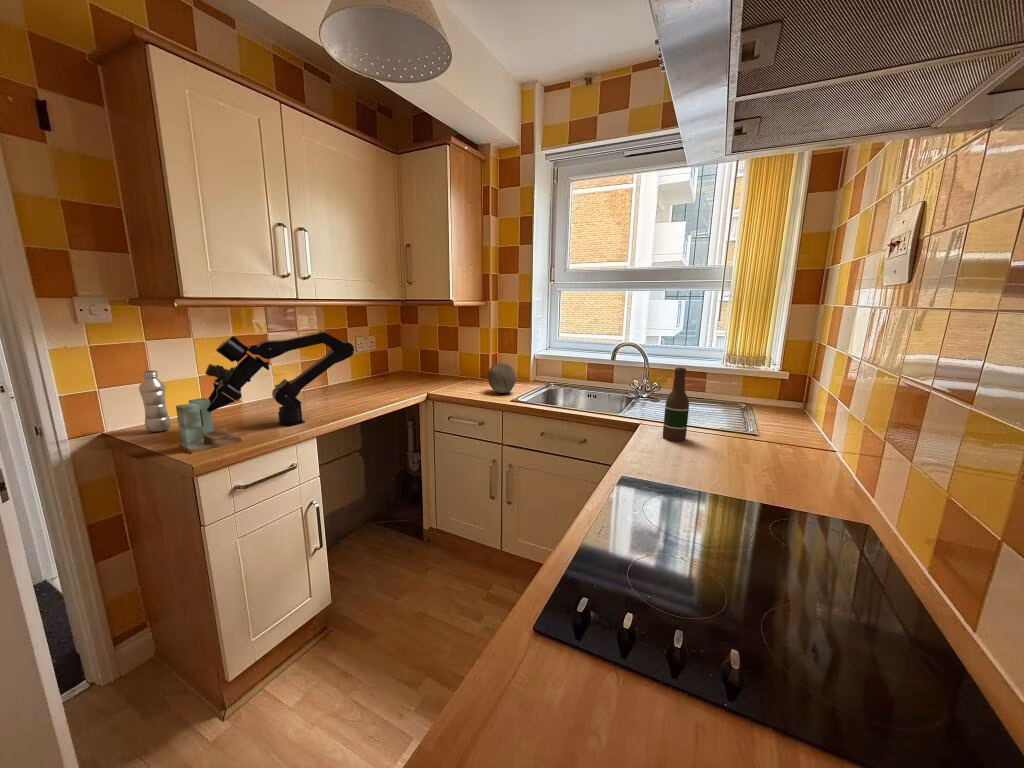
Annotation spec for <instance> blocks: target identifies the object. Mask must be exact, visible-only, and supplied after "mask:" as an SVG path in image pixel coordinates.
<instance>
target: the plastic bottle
mask: <svg viewBox="0 0 1024 768" xmlns="http://www.w3.org/2000/svg"><path fill="white" fill-rule="evenodd" d="M141 376H142V379H143V380H142V382H141V383H140V384H139V386H138V391H139V393H140V396H141V398H142V404H143V407H144V427H145V429H146V430H147V431H148V432H152V433H153V432H157V433H158V431H159V432H163V431H166V430H169V429H170V427H171V418H170V416H169V413H168V411H167V410H168V409H167V406H166V386H165V384H164V383H163V382H162V380H160V379H159V378H158V377H159V375H158V371H157V370H145V371H142V375H141Z"/></svg>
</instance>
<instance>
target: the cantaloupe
mask: <svg viewBox="0 0 1024 768" xmlns="http://www.w3.org/2000/svg"><path fill="white" fill-rule="evenodd" d="M487 381H488V385H489V386H490V388H491V389H492V390H493V391H494V392H496V393H498V394H500V393H506V394H508V393H510V392H512V390H513V388H514V386H515V383H516V374H515V372H514V369H513V368H512V366H511V365H510V364H508V363H494V364H493V365H492V366H491V367H490V369H489V370H488V373H487Z"/></svg>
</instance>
